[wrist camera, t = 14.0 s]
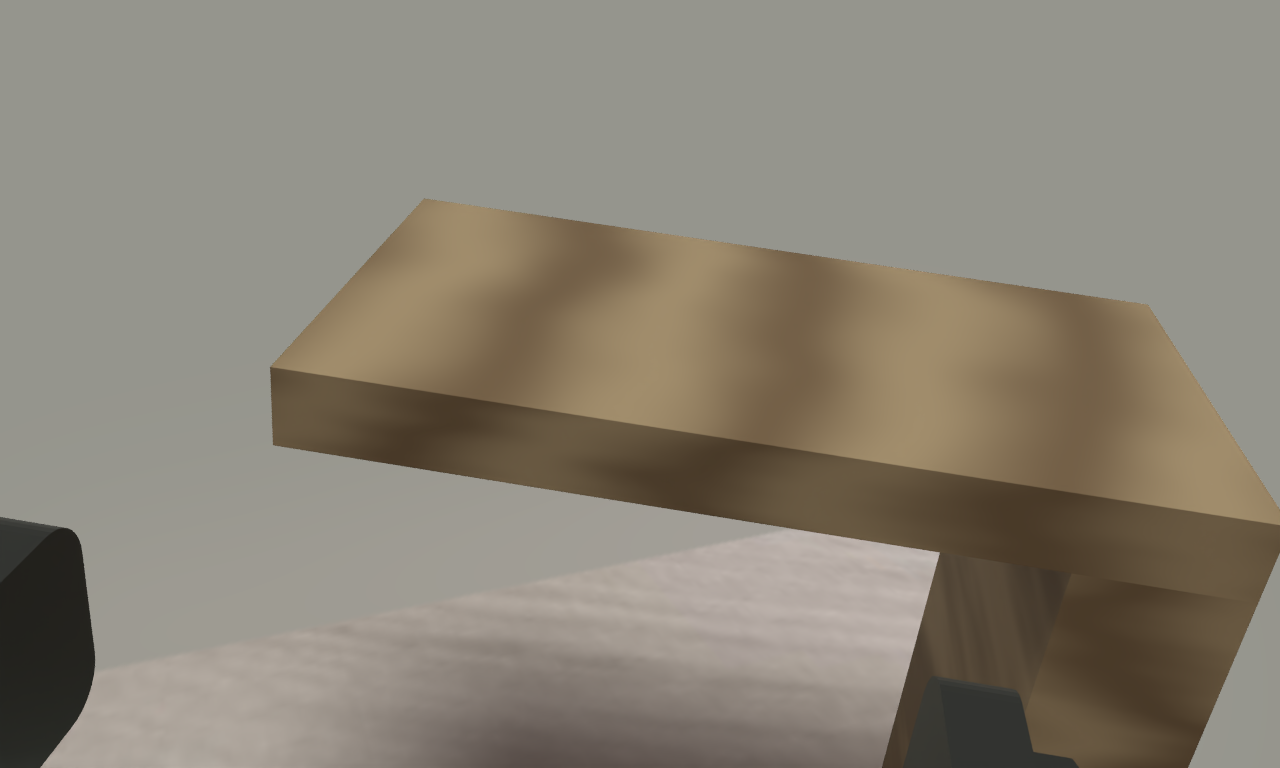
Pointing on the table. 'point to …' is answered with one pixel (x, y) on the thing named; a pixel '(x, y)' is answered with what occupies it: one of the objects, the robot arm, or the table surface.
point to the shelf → (832, 441)
